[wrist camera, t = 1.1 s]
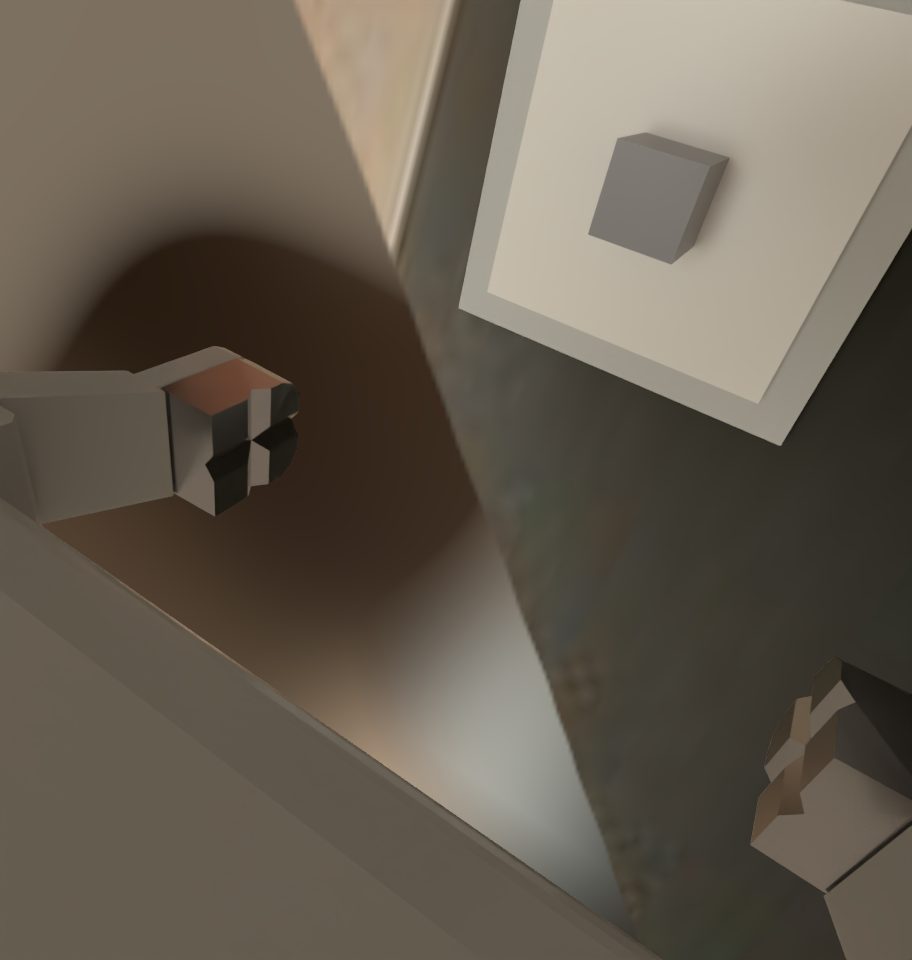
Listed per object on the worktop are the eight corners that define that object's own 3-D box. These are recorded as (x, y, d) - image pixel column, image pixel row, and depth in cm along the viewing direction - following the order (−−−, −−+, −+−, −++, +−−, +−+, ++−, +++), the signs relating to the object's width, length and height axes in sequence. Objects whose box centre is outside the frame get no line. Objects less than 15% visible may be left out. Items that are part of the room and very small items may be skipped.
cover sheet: (573, -56, 29) (527, -74, 25) (964, 27, 24) (974, 19, 21) (493, 288, 39) (452, 309, 35) (760, 398, 34) (743, 435, 30)
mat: (554, -118, 29) (545, -123, 28) (1061, -26, 23) (1066, -29, 22) (466, 304, 41) (458, 308, 40) (783, 438, 35) (780, 446, 34)
